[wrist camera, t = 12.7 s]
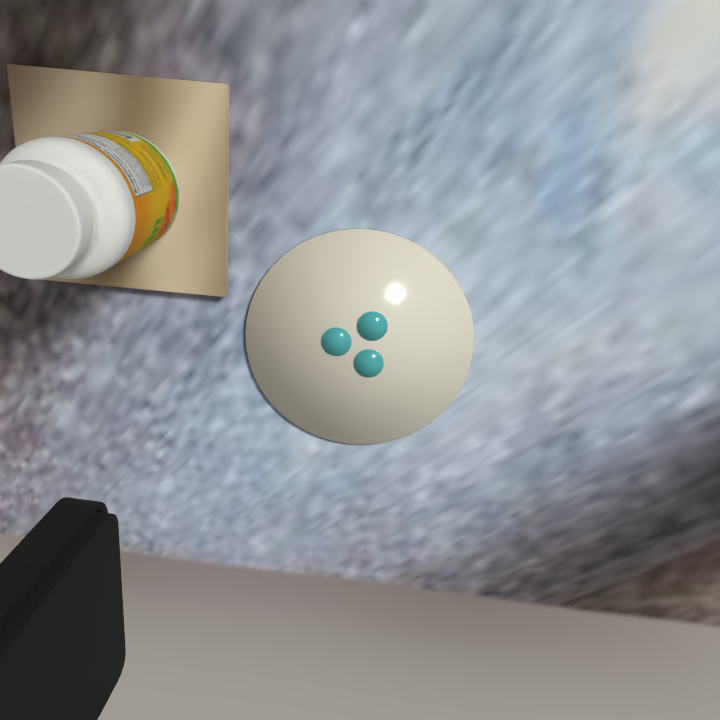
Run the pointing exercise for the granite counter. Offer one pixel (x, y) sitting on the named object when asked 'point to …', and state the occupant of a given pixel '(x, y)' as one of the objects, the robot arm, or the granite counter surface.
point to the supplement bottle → (82, 203)
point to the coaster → (359, 336)
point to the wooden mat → (171, 135)
